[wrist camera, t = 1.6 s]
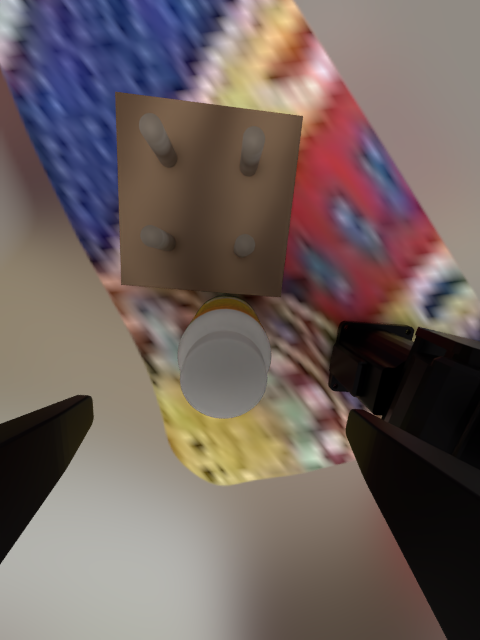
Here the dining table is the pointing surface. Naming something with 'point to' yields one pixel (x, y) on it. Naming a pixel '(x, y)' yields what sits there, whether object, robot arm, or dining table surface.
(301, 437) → the dining table surface
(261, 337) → the supplement bottle
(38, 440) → the robot arm
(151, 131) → the peg cradle
